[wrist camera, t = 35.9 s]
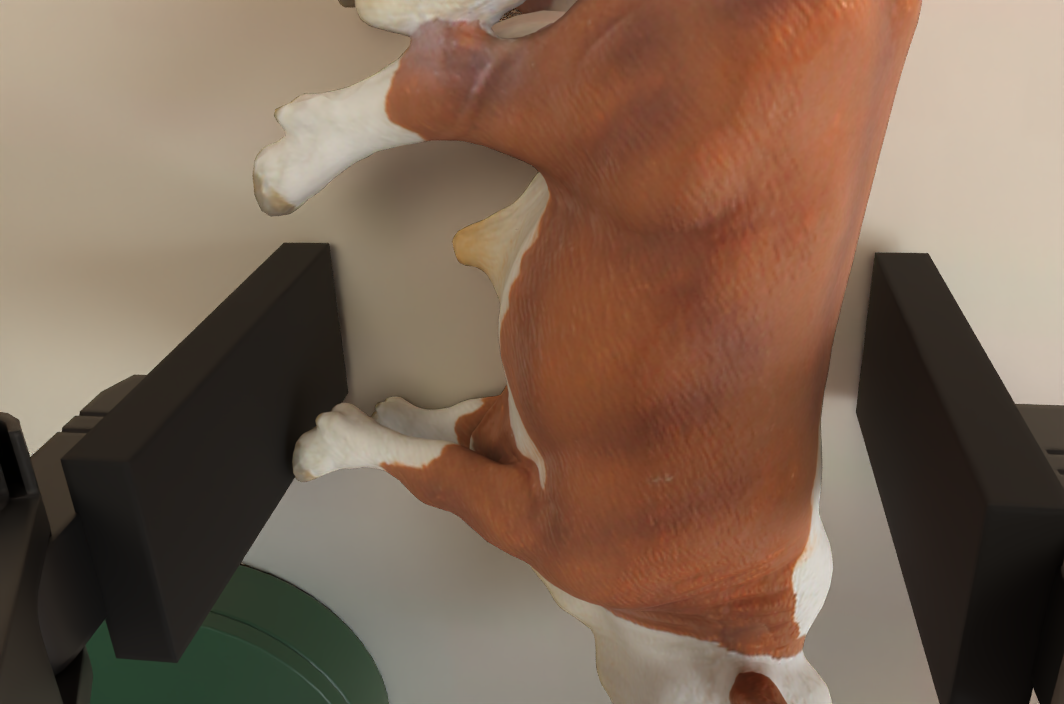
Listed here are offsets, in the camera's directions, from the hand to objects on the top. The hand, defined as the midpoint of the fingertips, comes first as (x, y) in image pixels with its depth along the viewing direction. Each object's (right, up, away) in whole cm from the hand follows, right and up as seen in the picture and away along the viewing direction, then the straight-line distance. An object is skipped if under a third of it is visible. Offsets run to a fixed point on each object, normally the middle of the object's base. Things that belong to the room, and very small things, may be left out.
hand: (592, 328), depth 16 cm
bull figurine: (-4, 0, -1) cm, 4 cm away
